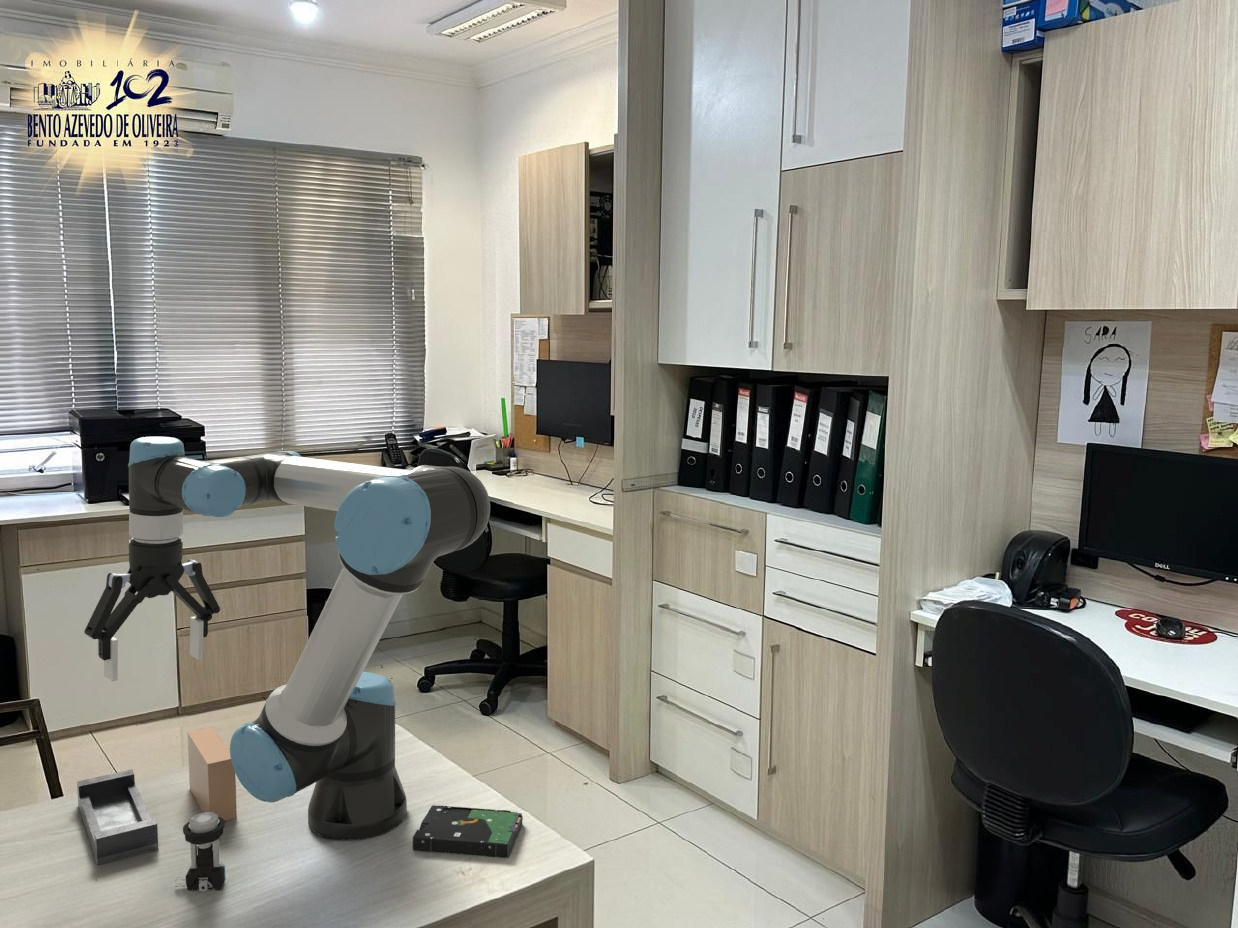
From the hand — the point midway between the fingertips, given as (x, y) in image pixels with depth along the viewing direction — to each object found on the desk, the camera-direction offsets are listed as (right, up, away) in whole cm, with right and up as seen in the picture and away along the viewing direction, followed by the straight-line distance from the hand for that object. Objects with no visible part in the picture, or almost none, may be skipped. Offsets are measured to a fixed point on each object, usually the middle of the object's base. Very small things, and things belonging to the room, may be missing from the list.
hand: (155, 667), depth 154 cm
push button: (+16, -27, -19) cm, 36 cm away
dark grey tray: (-4, -24, -4) cm, 24 cm away
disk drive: (+50, -26, -4) cm, 57 cm away
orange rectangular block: (+7, -23, +4) cm, 24 cm away
